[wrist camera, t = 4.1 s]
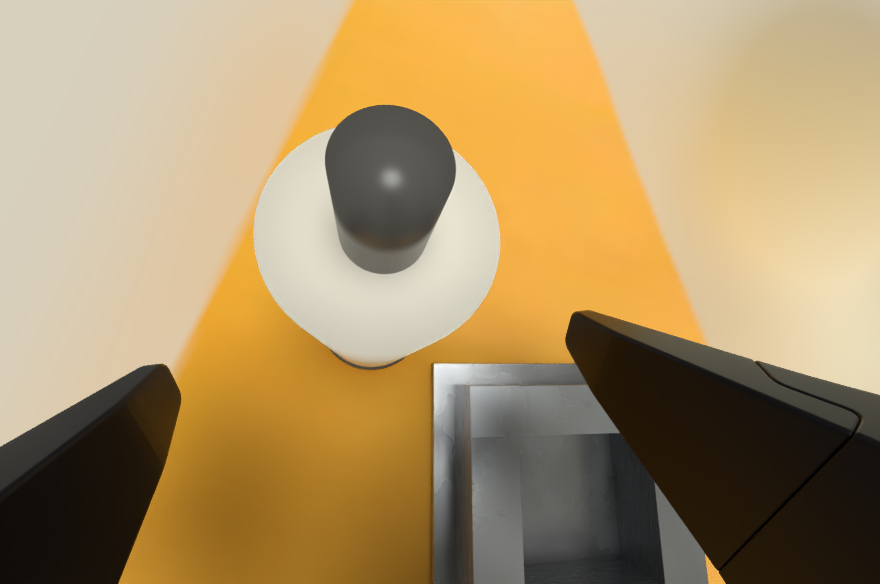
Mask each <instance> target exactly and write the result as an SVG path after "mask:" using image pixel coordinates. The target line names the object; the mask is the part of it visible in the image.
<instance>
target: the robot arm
mask: <svg viewBox="0 0 880 584" xmlns="http://www.w3.org/2000/svg"><path fill="white" fill-rule="evenodd" d="M565 342H566V346H567V349H568V351H569V353H570V354H571V356H572V358H573V360H574V362H575V363H576V365H577V367H578V369H579V371H580V373H581V374H582V376H583V378H584V380H585V382H586V383H587V385H588V387H589V389H590V390H591V392H592V394H593V395H594V397H595V398H596V400H597V401H598V402H599V404H600V405H601V407H602V408H603V410H604V411H605V412H606V414H607V415H608V417H609V418H610V419H611V421H612V422H613V424H614V425H615V426H616V428H617V429H618V431H619V432H620V434H621V435H622V436H623V438H624V439H625V441H626V442H627V443H628V445H629V446H630V448H631V449H632V451H633V452H634V453H635V455H636V456H637V458H638V459H639V460H640V462H641V463H642V465H643V466H644V468H645V469H646V470H647V472H648V473H649V475H650V476H651V477H652V479H653V480H654V482H655V483H656V485H657V486H658V487H659V489H660V490H661V492H662V493H663V494H664V496H665V497H666V499H667V500H668V502H669V503H670V504H671V506H672V507H673V509H674V510H675V511H676V513H677V514H678V516H679V517H680V519H681V520H682V521H683V523H684V524H685V526H686V527H687V528H688V530H689V531H690V533H691V534H692V536H693V537H694V538H695V540H696V541H697V543H698V544H699V545H700V547H701V548H702V550H703V551H704V553H705V554H706V555H707V557H708V558H709V560H710V561H711V563H712V564H713V565H714V567H715V568H716V569H717V570H718V571H719V574H720V575H721V577H722V578H723V580H724V581H725V583H726V584H880V395H877V394H874V393H870V392H866V391H862V390H859V389H855V388H851V387H847V386H844V385H840V384H836V383H833V382H829V381H826V380H822V379H818V378H815V377H811V376H807V375H804V374H801V373H797V372H794V371H790V370H787V369H784V368H780V367H777V366H774V365H770V364H767V363H763V362H760V361H755V362H754V361H753V360H751V359H748V358H745V357H742V356H738V355H735V354H732V353H729V352H725V351H722V350H719V349H716V348H712V347H709V346H706V345H702V344H699V343H696V342H692V341H689V340H686V339H683V338H679V337H676V336H673V335H669V334H666V333H663V332H660V331H656V330H653V329H650V328H646V327H643V326H640V325H637V324H633V323H630V322H627V321H623V320H620V319H617V318H613V317H610V316H607V315H604V314H600V313H597V312H594V311H590V310H585V311H577V312H574V313H573V314H572V316H571V319H570V322H569V326H568V330H567V333H566V338H565ZM180 405H181V394H180V390H179V388H178V386H177V384H176V382H175V380H174V378H173V376H172V374H171V372H170V370H169V368H168V367H167V366H166V365H164V364H155V365H147V366H142V367H140V368H138V369H136V370H134V371H132V372H131V373H129V374H127V375H126V376H124V377H122V378H120V379H119V380H117V381H115V382H113V383H111V384H110V385H108V386H106V387H104V388H103V389H101V390H99V391H98V392H96V393H94V394H92V395H90V396H89V397H87V398H85V399H83V400H82V401H80V402H78V403H76V404H75V405H73V406H71V407H70V408H68V409H66V410H64V411H62V412H61V413H59V414H57V415H55V416H54V417H52V418H50V419H49V420H46V421H45V422H43V423H41V424H40V425H38V426H36V427H35V428H32V429H31V430H29V431H27V432H25V433H24V434H22V435H20V436H19V437H17V438H15V439H13V440H12V441H10V442H8V443H6V444H4V445H3V446H1V447H0V584H118V583H119V580H120V578H121V575H122V573H123V570H124V568H125V565H126V563H127V560H128V558H129V555H130V553H131V550H132V548H133V545H134V543H135V540H136V538H137V535H138V533H139V530H140V528H141V525H142V523H143V520H144V517H145V515H146V512H147V510H148V507H149V505H150V502H151V500H152V497H153V495H154V492H155V490H156V487H157V485H158V482H159V480H160V477H161V474H162V472H163V469H164V466H165V463H166V459H167V456H168V452H169V448H170V444H171V440H172V436H173V433H174V429H175V425H176V421H177V417H178V413H179V409H180Z"/></svg>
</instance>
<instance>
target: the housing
mask: <svg viewBox="0 0 880 584" xmlns="http://www.w3.org/2000/svg"><path fill="white" fill-rule="evenodd" d="M432 584H708V576H707V568H706V560H705V553H704V551H703V550H702V548H701V547H700V545H699V544H698V543H697V541H696V540H695V538H694V537H693V536H692V534H691V533H690V531H689V530H688V528H687V527H686V526H685V524H684V523H683V521H682V520H681V519H680V517H679V516H678V514H677V513H676V511H675V510H674V509H673V507H672V506H671V504H670V503H669V502H668V500H667V499H666V497H665V496H664V494H663V493H662V492H661V490H660V489H659V487H658V486H657V485H656V483H655V482H654V480H653V479H652V477H651V476H650V475H649V473H648V472H647V470H646V469H645V468H644V466H643V465H642V463H641V462H640V460H639V459H638V458H637V456H636V455H635V453H634V452H633V451H632V449H631V448H630V446H629V445H628V443H627V442H626V441H625V439H624V438H623V436H622V435H621V434H620V432H619V431H618V429H617V428H616V426H615V425H614V424H613V422H612V421H611V419H610V418H609V417H608V415H607V414H606V412H605V411H604V410H603V408H602V407H601V405H600V404H599V402H598V401H597V400H596V398H595V397H594V395H593V394H592V392H591V390H590V389H589V387H588V385H587V383H586V382H585V380H584V378H583V376H582V374H581V373H580V371H579V369H578V367H577V365H576V364H432Z"/></svg>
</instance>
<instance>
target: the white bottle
mask: <svg viewBox="0 0 880 584" xmlns="http://www.w3.org/2000/svg"><path fill="white" fill-rule="evenodd" d="M253 240H254V248H255V256H256V259H257V263H258V267H259V270H260V273H261V275H262V277H263V280H264V282H265V284H266V287H267V288H268V290H269V291H270V293H271V295H272V296H273V298H274V300H275V301H276V302H277V304H278V305H279V306H280V307H281V308H282V310H283V311H284V312H285V313H286V314H287V315H288V316H289V317H290V318H291V319H292V320H293V321H294V322H296V323H297V324H298V325H299V326H300V327H301V328H303V329H304V330H305V331H307V332H308V333H309V334H311V335H312V336H313V337H315V338H316V339H317V340H319V341H320V342H321V343H323V344H324V345H325V346H327V347H328V348H329V349H330V350H331V351H332V352H333V354H334V355H336V356H337V357H338V358H339V359H340V360H342V361H343V362H345V363H347V364H349V365H351V366H353V367H356V368H360V369H366V370H376V369H382V368H386V367H389V366H392V365H394V364H396V363H398V362H399V361H401V360H402V359H404V358H405V357H406V356H407V355H409V354H411V353H414V352H416V351H418V350H420V349H422V348H424V347H426V346H428V345H430V344H432V343H434V342H436V341H439V340H441V339H443V338H444V337H446V336H447V335H449V334H450V333H452V332H453V331H455V330H456V329H458V328H459V327H460V326H461V325H462V324H463V323H464V322H466V321H467V320H468V319H469V318H470V317H471V316H472V314H473V313H474V312H475V311H476V310H477V309H478V307H479V306H480V304H481V303H482V301H483V300H484V298H485V297H486V295H487V293H488V291H489V289H490V287H491V285H492V282H493V280H494V277H495V273H496V270H497V267H498V261H499V255H500V231H499V223H498V218H497V214H496V210H495V207H494V204H493V202H492V199H491V196H490V195H489V193H488V191H487V189H486V187H485V185H484V183H483V182H482V180H481V179H480V177H479V176H478V174H477V173H476V172H475V170H474V169H473V168H472V167H471V166H470V165H469V164H468V162H467V161H466V160H465V159H464V158H462V157H461V156H460V155H459V154H458V153H457V152H456V151H455V150H453V149H452V147H451V145H450V143H449V141H448V139H447V138H446V136H445V135H444V133H443V132H442V131H441V130H440V129H439V128H438V127H437V126H436V125H435V124H434V123H433V122H432V121H431V120H429V119H428V118H426V117H425V116H423V115H421V114H420V113H418V112H416V111H413V110H411V109H408V108H404V107H400V106H394V105H376V106H371V107H367V108H364V109H361V110H358V111H356V112H354V113H352V114H351V115H349V116H348V117H346V118H345V119H344V120H343V121H342V122H341V123H340V124H339V125H338V126H337V127H335V128H332V129H329V130H326V131H324V132H322V133H320V134H317V135H315V136H313V137H311V138H310V139H308V140H307V141H305V142H303V143H302V144H300V145H299V146H298V147H296V148H295V149H294V150H293V151H292V152H290V153H289V154H288V155H287V156H286V157H285V158H284V159H283V160H282V161H281V163H280V164H279V165H278V166H277V167H276V169H275V170H274V172H273V173H272V174H271V176H270V177H269V179H268V181H267V183H266V185H265V187H264V189H263V191H262V193H261V196H260V199H259V202H258V205H257V208H256V214H255V220H254V239H253Z"/></svg>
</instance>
